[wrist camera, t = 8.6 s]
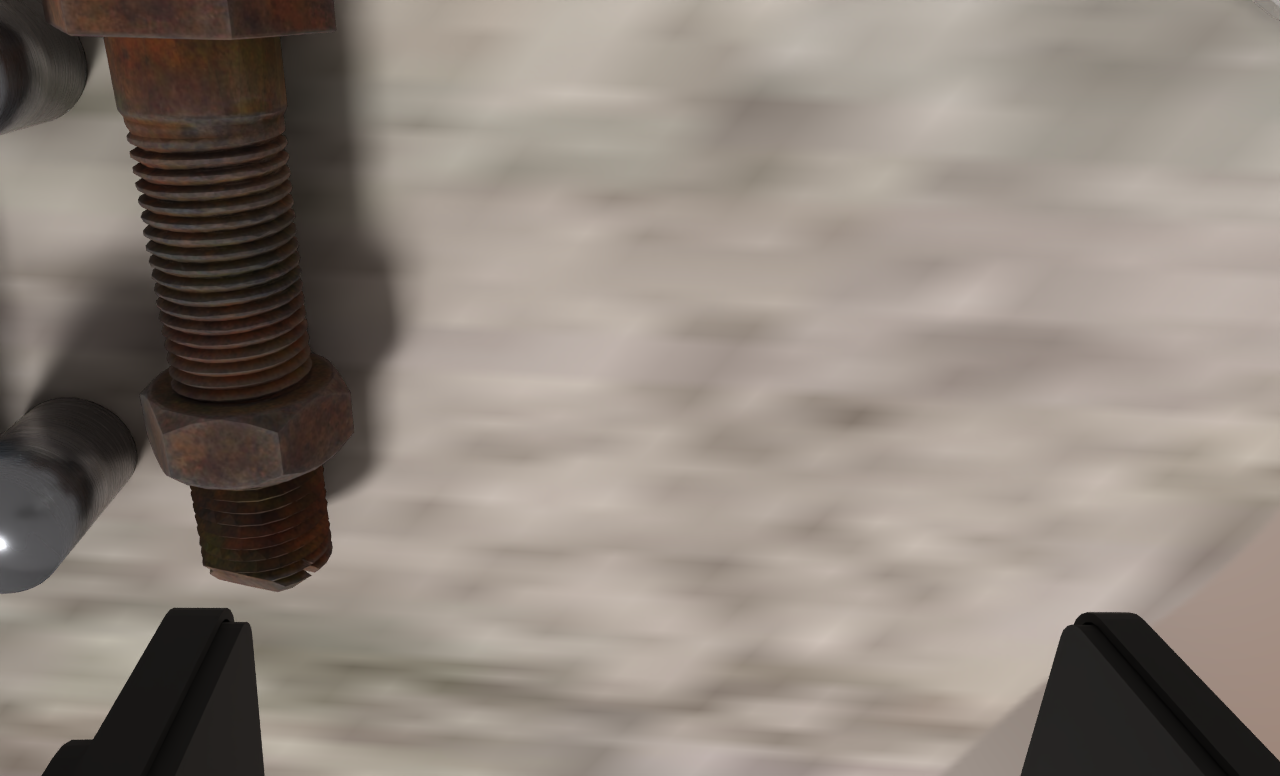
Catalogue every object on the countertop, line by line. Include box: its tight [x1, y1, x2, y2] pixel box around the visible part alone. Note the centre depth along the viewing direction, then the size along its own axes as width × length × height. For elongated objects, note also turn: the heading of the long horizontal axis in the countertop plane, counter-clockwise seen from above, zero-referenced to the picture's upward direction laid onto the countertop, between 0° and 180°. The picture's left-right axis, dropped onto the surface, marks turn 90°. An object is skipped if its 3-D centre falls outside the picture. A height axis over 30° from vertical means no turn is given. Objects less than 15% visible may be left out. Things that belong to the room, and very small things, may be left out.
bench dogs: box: [0, 0, 137, 594], centre depth 22 cm, size 3×13×4 cm, turn 176°
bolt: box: [41, 0, 354, 592], centre depth 23 cm, size 6×5×15 cm
